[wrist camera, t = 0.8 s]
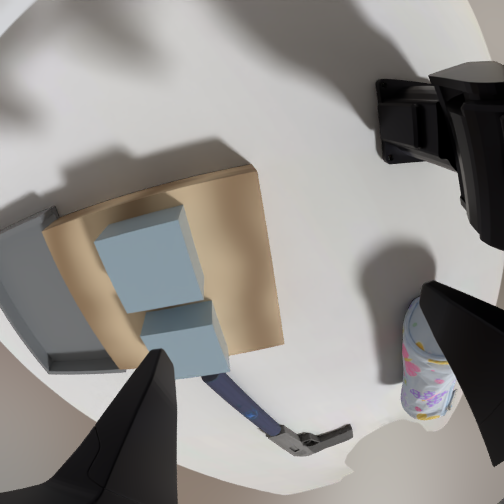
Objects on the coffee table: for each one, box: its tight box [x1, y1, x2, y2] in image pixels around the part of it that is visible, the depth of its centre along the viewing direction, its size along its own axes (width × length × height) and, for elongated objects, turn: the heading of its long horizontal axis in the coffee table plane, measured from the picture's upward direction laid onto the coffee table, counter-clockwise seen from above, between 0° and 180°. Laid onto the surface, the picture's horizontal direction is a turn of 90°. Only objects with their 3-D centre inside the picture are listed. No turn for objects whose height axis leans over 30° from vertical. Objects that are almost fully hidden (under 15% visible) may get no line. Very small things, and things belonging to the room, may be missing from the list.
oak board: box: [42, 164, 284, 370], centre depth 19 cm, size 15×14×2 cm
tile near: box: [94, 205, 204, 314], centre depth 15 cm, size 5×5×2 cm
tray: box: [0, 206, 126, 374], centre depth 19 cm, size 11×16×2 cm
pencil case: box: [401, 297, 458, 420], centre depth 26 cm, size 21×9×10 cm, turn 25°
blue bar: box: [201, 373, 353, 456], centre depth 33 cm, size 34×2×12 cm
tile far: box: [140, 300, 230, 379], centre depth 19 cm, size 5×5×2 cm
